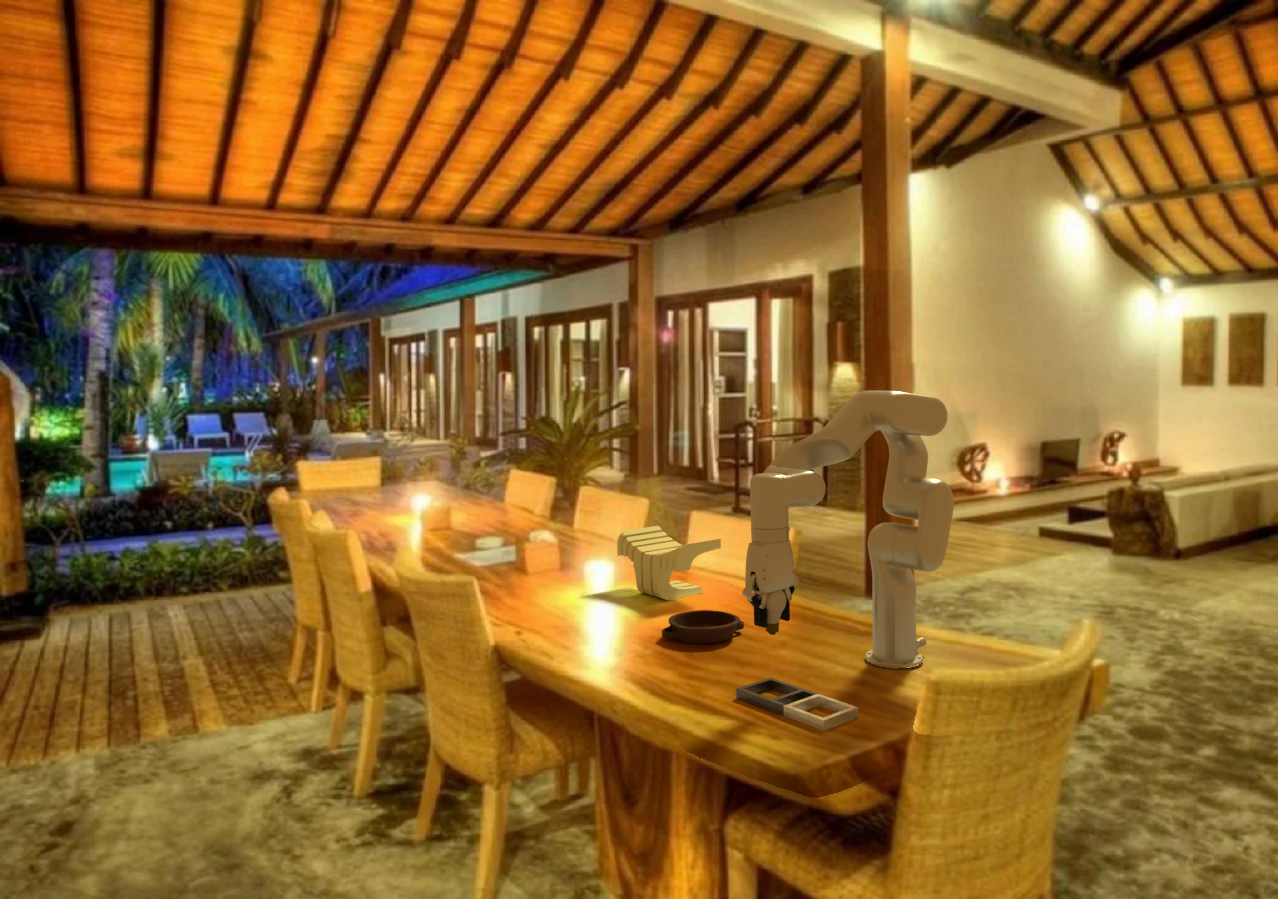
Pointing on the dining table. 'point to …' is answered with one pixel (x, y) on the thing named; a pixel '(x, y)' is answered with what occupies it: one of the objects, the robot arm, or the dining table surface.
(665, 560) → the slatted curved stool
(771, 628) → the light bulb
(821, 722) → the rail
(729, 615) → the dish
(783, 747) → the dining table surface
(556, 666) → the dining table surface
